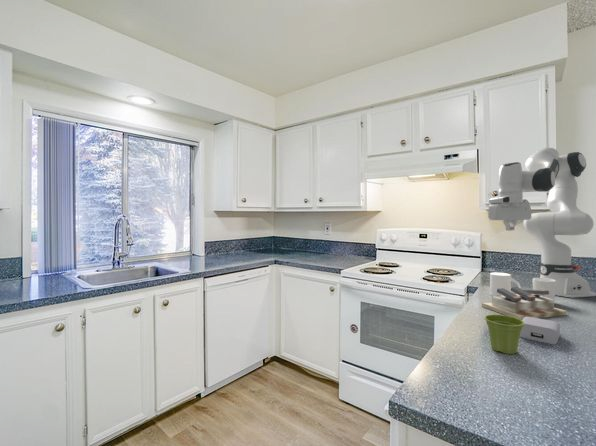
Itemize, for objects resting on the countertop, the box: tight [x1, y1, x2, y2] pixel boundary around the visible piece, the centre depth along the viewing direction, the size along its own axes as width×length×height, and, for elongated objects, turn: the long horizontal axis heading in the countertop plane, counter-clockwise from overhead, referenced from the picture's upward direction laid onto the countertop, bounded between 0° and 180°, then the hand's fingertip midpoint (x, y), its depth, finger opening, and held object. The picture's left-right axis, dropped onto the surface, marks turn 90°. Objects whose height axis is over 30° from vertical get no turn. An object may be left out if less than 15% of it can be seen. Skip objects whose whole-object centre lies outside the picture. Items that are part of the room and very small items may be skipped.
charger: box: [519, 317, 561, 345], centre depth 98 cm, size 5×9×15 cm
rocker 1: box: [497, 288, 521, 302], centre depth 120 cm, size 3×8×2 cm, turn 14°
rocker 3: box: [523, 289, 549, 295], centre depth 123 cm, size 3×8×2 cm, turn 14°
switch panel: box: [481, 294, 568, 320], centre depth 122 cm, size 22×17×6 cm
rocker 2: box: [511, 286, 536, 301], centre depth 121 cm, size 3×8×2 cm, turn 14°
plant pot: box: [484, 314, 524, 355], centre depth 87 cm, size 9×9×9 cm
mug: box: [489, 271, 522, 297], centre depth 143 cm, size 8×10×12 cm
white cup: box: [532, 277, 556, 300], centre depth 132 cm, size 8×8×10 cm
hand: (510, 230), depth 136 cm, fingers closed
